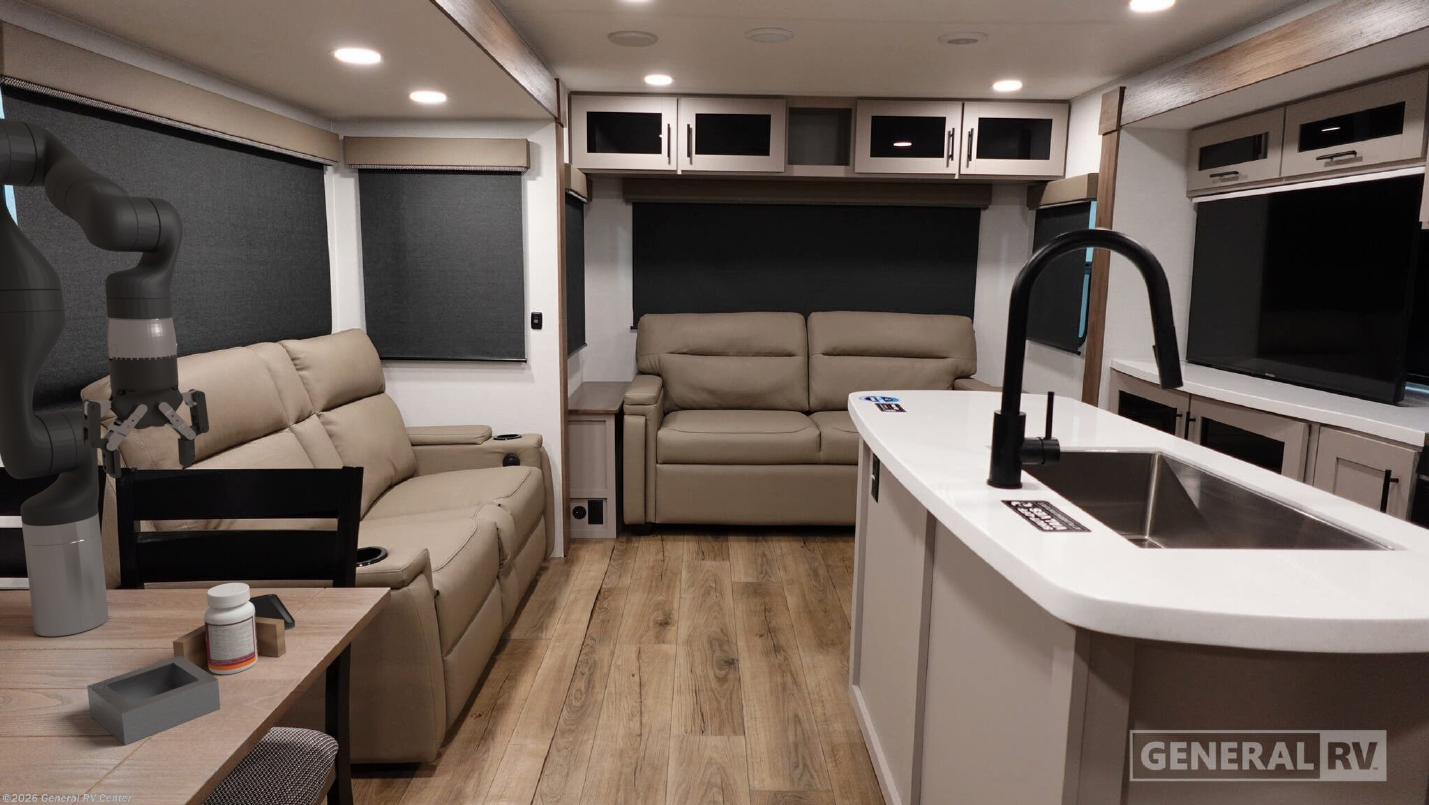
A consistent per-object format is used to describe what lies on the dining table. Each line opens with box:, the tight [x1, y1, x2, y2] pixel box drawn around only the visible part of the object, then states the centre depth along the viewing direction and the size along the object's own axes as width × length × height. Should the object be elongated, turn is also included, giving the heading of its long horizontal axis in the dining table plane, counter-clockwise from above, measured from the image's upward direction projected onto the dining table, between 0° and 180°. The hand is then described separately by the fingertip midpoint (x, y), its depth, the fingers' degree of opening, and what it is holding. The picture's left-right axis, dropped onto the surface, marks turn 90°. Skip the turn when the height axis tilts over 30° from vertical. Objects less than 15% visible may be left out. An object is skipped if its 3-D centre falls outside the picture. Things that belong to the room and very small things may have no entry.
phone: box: [249, 593, 296, 631], centre depth 135 cm, size 8×1×15 cm
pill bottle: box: [203, 582, 259, 675], centre depth 118 cm, size 6×6×11 cm
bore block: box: [86, 655, 221, 746], centre depth 106 cm, size 11×11×4 cm
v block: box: [172, 617, 287, 669], centre depth 122 cm, size 8×14×5 cm, turn 124°
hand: (151, 470), depth 115 cm, fingers open, 8 cm apart
